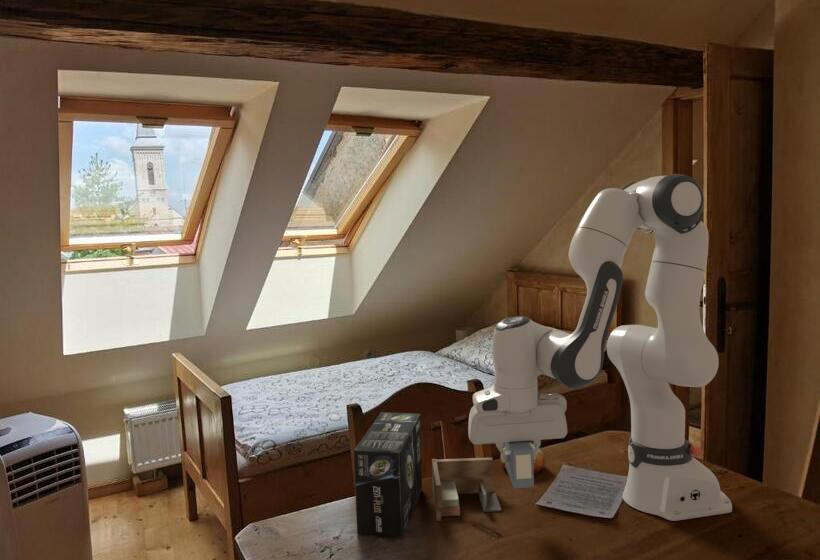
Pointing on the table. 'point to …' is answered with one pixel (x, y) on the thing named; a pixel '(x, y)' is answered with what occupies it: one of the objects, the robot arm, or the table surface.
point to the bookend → (488, 499)
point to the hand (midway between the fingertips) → (518, 459)
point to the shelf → (458, 482)
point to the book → (520, 464)
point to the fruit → (537, 463)
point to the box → (388, 475)
